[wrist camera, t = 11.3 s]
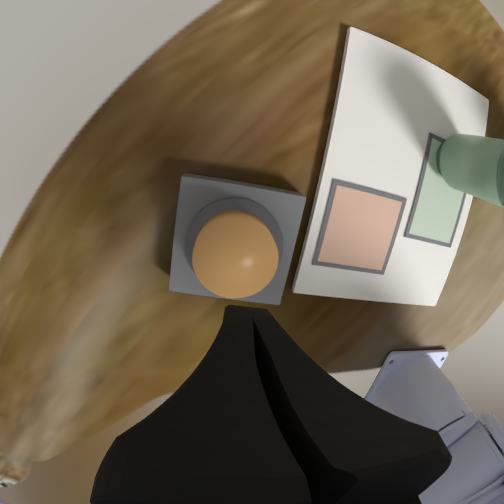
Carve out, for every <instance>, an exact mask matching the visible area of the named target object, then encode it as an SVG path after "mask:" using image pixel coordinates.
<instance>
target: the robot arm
mask: <svg viewBox="0 0 504 504" xmlns="http://www.w3.org/2000/svg"><path fill="white" fill-rule="evenodd" d="M447 355H448V351H447V350H446V349H443V350H423V351H393V352H391V353H389V355H388V356H387V358H386V360H385V362H384V364H383V366H382V368H381V370H380V372H379V373H378V375H377V377H376V379H375V381H374V383H373V384H372V386H371V388H370V389H369V391H368V393H367V395H366V396H365V398H362V397H360V396H359V395H357V394H355V393H354V392H352V391H350V390H349V389H348V388H346V387H345V386H343V385H342V384H340V383H339V382H338V381H337V380H336V379H334V378H333V377H332V376H330V375H329V374H328V373H327V372H325V371H324V370H323V369H322V368H321V367H320V366H318V365H317V364H316V363H315V362H314V361H313V360H312V359H311V358H310V357H309V356H308V355H307V354H306V353H305V352H304V351H303V350H302V349H301V348H300V347H299V346H298V345H297V344H296V343H295V342H294V341H293V340H292V338H291V337H290V336H289V335H288V334H287V333H286V332H285V330H284V329H283V328H282V327H281V326H280V325H279V323H278V322H277V321H276V320H275V319H274V317H273V316H272V315H271V314H270V313H269V311H268V310H267V309H261V308H252V307H243V306H235V305H228V306H227V307H225V312H224V318H223V323H222V326H221V328H220V330H219V332H218V334H217V336H216V339H215V340H214V342H213V344H212V345H211V347H210V349H209V350H208V352H207V354H206V355H205V357H204V358H203V360H202V361H201V363H200V364H199V365H198V367H197V368H196V369H195V370H194V372H193V373H192V374H191V375H190V377H189V378H188V379H187V380H186V381H185V382H184V383H183V384H182V385H181V387H180V388H179V389H178V390H177V391H176V392H175V393H174V394H173V395H172V396H171V397H170V398H168V399H167V400H166V401H165V402H164V403H163V404H162V405H160V406H159V407H158V408H157V409H156V410H154V411H153V412H152V413H151V414H150V415H148V416H147V417H146V418H145V419H143V420H142V421H140V422H139V423H137V424H136V425H134V426H133V427H131V428H130V429H128V430H127V431H125V432H124V433H122V434H121V435H119V436H118V437H116V439H115V440H114V442H113V443H112V445H111V447H110V448H109V450H108V451H107V453H106V455H105V457H104V459H103V460H102V462H101V465H100V467H99V469H98V472H97V474H96V477H95V481H94V485H93V489H92V494H91V498H90V503H91V504H504V455H503V454H504V428H503V426H502V425H501V423H500V422H499V421H498V419H497V418H496V417H495V416H494V414H493V413H487V414H486V413H485V412H484V413H482V414H481V415H480V416H479V417H480V419H481V420H482V421H483V423H484V425H483V424H482V423H481V421H480V420H479V419H478V417H477V416H476V415H475V414H474V413H473V412H472V411H471V409H470V408H469V407H468V405H467V404H466V403H465V401H464V400H463V399H462V397H461V396H460V394H459V393H458V392H457V390H456V389H455V388H454V387H453V385H452V384H451V382H450V381H449V380H448V379H447V377H446V376H445V375H444V373H443V372H442V371H441V370H440V367H441V366H442V364H443V362H444V360H445V359H446V357H447ZM484 426H485V427H486V428H485V427H484ZM486 429H487V430H488V431H487V430H486ZM489 433H490V434H489ZM502 452H503V453H502ZM502 476H503V477H502ZM500 477H502V478H500ZM499 478H500V479H499ZM498 479H499V480H498ZM0 504H8V503H6V502H5V501H3V500H1V499H0Z"/></svg>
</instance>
